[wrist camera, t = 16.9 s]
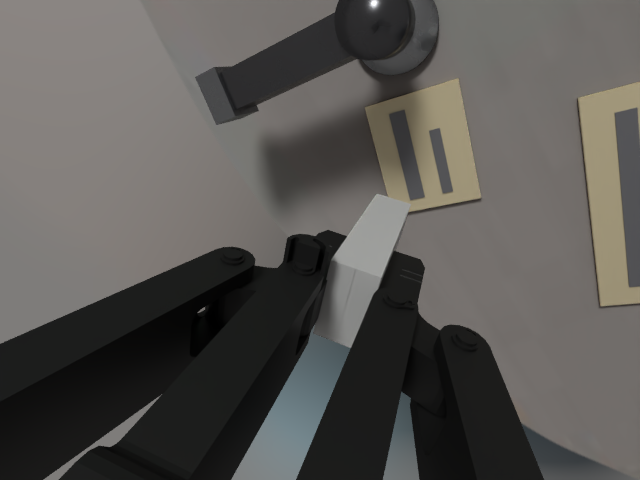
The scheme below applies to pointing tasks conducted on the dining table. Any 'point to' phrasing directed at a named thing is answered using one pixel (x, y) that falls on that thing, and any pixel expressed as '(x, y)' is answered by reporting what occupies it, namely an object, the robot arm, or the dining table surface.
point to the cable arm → (309, 55)
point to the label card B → (614, 189)
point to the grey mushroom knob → (413, 42)
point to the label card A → (425, 147)
